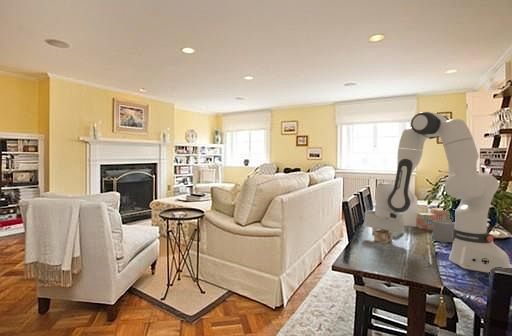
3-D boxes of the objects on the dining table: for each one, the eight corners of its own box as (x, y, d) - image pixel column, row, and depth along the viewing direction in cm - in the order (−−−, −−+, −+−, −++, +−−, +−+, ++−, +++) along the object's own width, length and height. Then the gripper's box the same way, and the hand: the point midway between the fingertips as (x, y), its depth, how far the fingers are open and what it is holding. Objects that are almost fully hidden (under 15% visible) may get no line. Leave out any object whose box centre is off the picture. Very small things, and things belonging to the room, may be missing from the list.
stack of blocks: (421, 229, 174) (422, 210, 174) (416, 227, 180) (416, 208, 180) (456, 229, 174) (457, 210, 173) (449, 227, 180) (450, 208, 180)
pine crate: (391, 239, 154) (391, 230, 153) (385, 243, 147) (386, 234, 147) (380, 237, 158) (380, 228, 157) (374, 241, 151) (374, 231, 151)
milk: (417, 226, 181) (419, 186, 179) (398, 225, 184) (399, 185, 183) (413, 222, 192) (414, 184, 191) (395, 221, 196) (396, 183, 194)
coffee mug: (433, 241, 152) (434, 222, 151) (431, 236, 160) (432, 218, 160) (464, 244, 146) (465, 225, 145) (460, 239, 155) (460, 221, 154)
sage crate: (403, 233, 166) (403, 226, 166) (395, 237, 157) (395, 230, 157) (380, 229, 175) (380, 222, 175) (372, 233, 166) (372, 226, 166)
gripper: (362, 210, 156) (361, 234, 157) (402, 216, 142) (401, 242, 143) (367, 208, 161) (366, 232, 162) (405, 214, 147) (405, 240, 148)
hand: (383, 237), depth 152 cm, fingers closed on pine crate, 6 cm apart
